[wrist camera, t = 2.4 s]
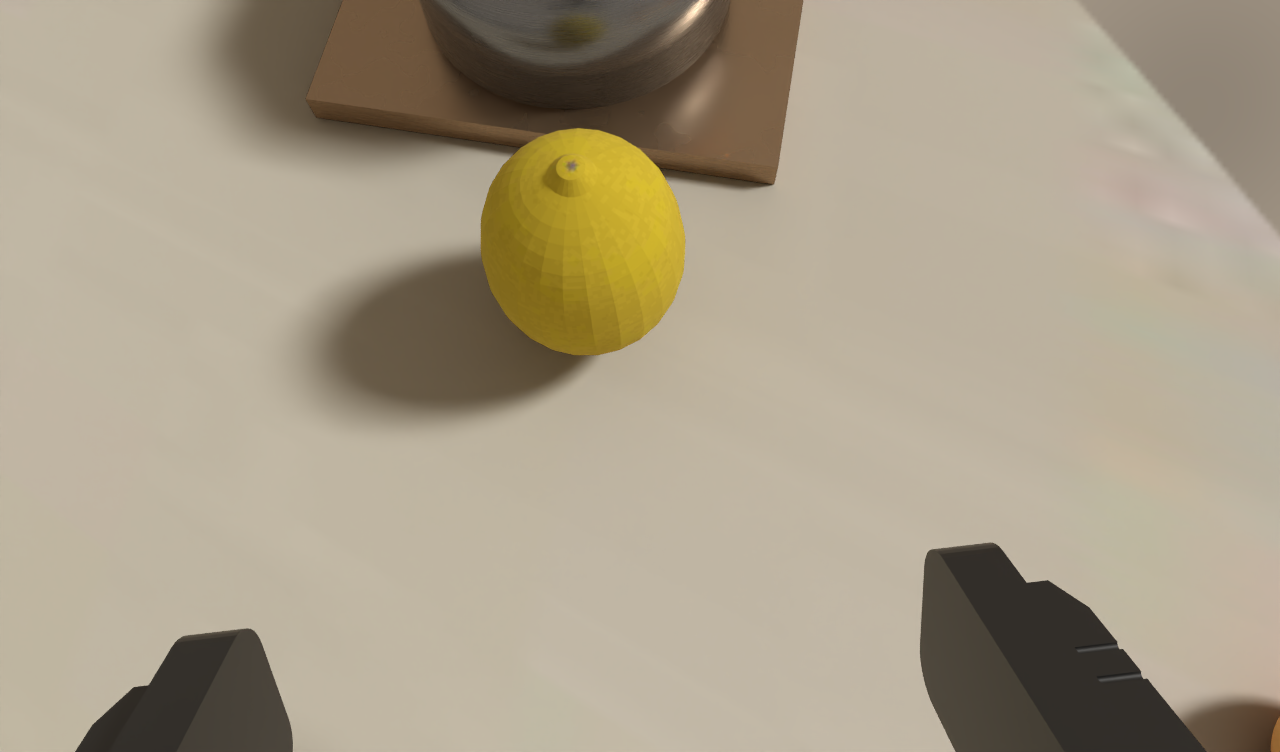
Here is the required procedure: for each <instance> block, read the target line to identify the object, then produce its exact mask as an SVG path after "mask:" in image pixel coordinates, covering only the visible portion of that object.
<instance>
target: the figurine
mask: <svg viewBox="0 0 1280 752" xmlns="http://www.w3.org/2000/svg"><path fill="white" fill-rule="evenodd" d="M1271 752H1280V717H1279V718H1278V720H1277V722H1276V725H1275V727H1274V730H1273V734H1272V740H1271Z"/></svg>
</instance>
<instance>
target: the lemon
mask: <svg viewBox="0 0 1280 752" xmlns="http://www.w3.org/2000/svg"><path fill="white" fill-rule="evenodd" d="M481 257H482V262H483V265H484V269H485V272H486V276H487V279H488V283H489V286H490V289H491V291H492V293H493V295H494V297H495V298H496V300H497V302H498V303H499V305H500V306H501V308H502V309H503V311H504V313H505V314H506V316H507V317H508V318H509V319H510V320H511V321H512V322H513V323H514V324H515V325H516V326H517V327H518V328H519V329H520V330H522V331H523V332H524V333H525V334H526V335H527V336H528V337H529V338H531V339H533V340H535V341H536V342H538V343H540V344H542V345H544V346H546V347H548V348H550V349H552V350H555V351H559V352H563V353H568V354H572V355H600V354H604V353H608V352H613V351H617V350H620V349H622V348H624V347H626V346H628V345H630V344H632V343H634V342H636V341H638V340H640V339H641V338H642V337H643V336H644V335H646V334H647V333H648V332H649V331H650V330H651V329H652V328H654V327H655V326H656V325H657V324H658V323H659V321H660V320H661V318H662V317H663V316H664V314H665V313H666V311H667V310H668V308H669V307H670V305H671V304H672V302H673V300H674V298H675V295H676V292H677V289H678V286H679V284H680V281H681V278H682V274H683V271H684V258H685V233H684V228H683V224H682V220H681V215H680V211H679V207H678V204H677V201H676V198H675V196H674V194H673V192H672V190H671V188H670V187H669V185H668V183H667V181H666V179H665V178H664V176H663V174H662V172H661V171H660V169H659V168H658V167H657V166H656V165H655V164H654V163H653V162H652V161H651V160H650V159H649V158H648V157H647V156H646V155H645V154H644V153H643V152H642V151H641V150H640V149H639V148H637V147H636V146H634V145H632V144H631V143H629V142H627V141H626V140H624V139H622V138H620V137H618V136H615V135H612V134H609V133H606V132H603V131H600V130H592V129H582V128H576V129H567V130H559V131H555V132H552V133H549V134H546V135H543V136H540V137H538V138H536V139H534V140H533V141H531V142H530V143H528V144H526V145H525V146H523V147H521V148H520V149H519V150H518V151H517V152H516V153H515V154H514V155H513V156H512V157H511V158H510V159H509V160H508V161H507V162H506V163H505V164H504V165H503V166H502V167H501V169H500V171H499V172H498V174H497V176H496V177H495V179H494V180H493V182H492V184H491V186H490V188H489V191H488V194H487V198H486V201H485V205H484V208H483V212H482V217H481Z"/></svg>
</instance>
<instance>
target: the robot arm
mask: <svg viewBox="0 0 1280 752" xmlns="http://www.w3.org/2000/svg"><path fill="white" fill-rule="evenodd" d="M920 658H921V666H922V672H923V677H924V681H925V685H926V688H927V691H928V694H929V697H930V700H931V702H932V704H933V706H934V709H935V711H936V713H937V715H938V717H939V719H940V721H941V723H942V725H943V727H944V729H945V731H946V733H947V735H948V737H949V739H950V741H951V743H952V745H953V747H954V749H955V751H956V752H1206V751H1205V749H1204V748H1203V747H1202V746H1201V744H1200V743H1199V742H1198V741H1197V739H1196V738H1195V737H1194V736H1193V735H1192V733H1191V732H1190V731H1189V730H1188V728H1187V727H1186V726H1185V725H1184V723H1183V722H1182V721H1181V720H1180V719H1179V717H1178V716H1177V715H1176V714H1175V712H1174V711H1173V710H1172V709H1171V707H1170V706H1169V705H1168V704H1167V703H1166V701H1165V700H1164V699H1163V698H1162V696H1161V695H1160V694H1159V693H1158V691H1157V690H1156V689H1155V688H1154V687H1153V685H1152V684H1151V683H1150V682H1149V680H1148V679H1143V678H1142V676H1141V671H1140V669H1139V668H1138V667H1137V666H1136V664H1135V663H1134V662H1133V661H1132V659H1131V658H1130V657H1129V656H1128V655H1127V653H1126V652H1125V651H1124V650H1123V649H1119V648H1118V645H1117V641H1116V640H1115V639H1114V637H1113V636H1112V635H1111V634H1110V632H1109V631H1108V630H1107V629H1106V628H1105V626H1104V625H1103V624H1102V623H1101V621H1100V620H1099V619H1098V618H1097V616H1096V615H1095V614H1094V613H1093V612H1092V610H1091V609H1090V608H1089V607H1088V606H1086V605H1085V604H1083V603H1082V602H1080V601H1078V600H1077V599H1075V598H1074V597H1072V596H1071V595H1069V594H1068V593H1066V592H1065V591H1063V590H1062V589H1060V588H1059V587H1057V586H1056V585H1054V584H1053V583H1051V582H1050V581H1048V580H1047V581H1039V582H1031V583H1026V581H1025V580H1024V579H1023V577H1022V576H1021V575H1020V573H1019V572H1018V571H1017V569H1016V568H1015V567H1014V565H1013V564H1012V563H1011V561H1010V560H1009V559H1008V557H1007V556H1006V554H1005V553H1004V552H1003V551H1002V549H1001V548H1000V547H999V546H998V545H996V544H994V543H983V544H975V545H966V546H958V547H949V548H941V549H932V550H930V551H929V552H928V553H927V555H926V559H925V566H924V583H923V601H922V620H921V638H920ZM75 752H293V741H292V731H291V726H290V722H289V719H288V716H287V713H286V710H285V707H284V705H283V702H282V699H281V696H280V693H279V691H278V688H277V685H276V682H275V679H274V677H273V674H272V671H271V668H270V665H269V663H268V660H267V657H266V654H265V651H264V649H263V646H262V643H261V641H260V638H259V637H258V635H257V634H256V633H255V632H254V631H253V630H251V629H239V630H230V631H222V632H213V633H205V634H196V635H188V636H183V637H181V638H180V639H178V640H177V641H176V642H175V644H174V645H173V646H172V648H171V649H170V651H169V653H168V654H167V656H166V658H165V659H164V661H163V663H162V664H161V666H160V668H159V669H158V671H157V673H156V674H155V676H154V678H153V679H152V681H151V683H150V684H149V685H148V686H140V687H134V688H132V689H131V690H130V691H129V692H128V693H127V694H126V695H125V696H124V697H123V698H122V699H120V700H119V701H118V702H117V703H116V704H115V705H114V706H113V707H112V708H111V709H109V710H108V711H107V712H106V713H105V714H104V715H103V716H102V717H101V718H100V719H98V720H97V721H96V722H95V723H94V724H93V725H92V727H91V728H90V730H89V731H88V733H87V734H86V736H85V737H84V739H83V741H82V742H81V744H80V745H79V747H78V748H77V750H76V751H75Z"/></svg>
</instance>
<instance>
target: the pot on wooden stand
mask: <svg viewBox="0 0 1280 752" xmlns="http://www.w3.org/2000/svg"><path fill="white" fill-rule="evenodd" d="M802 5H803V0H343V1H342V4H341V7H340V9H339V12H338V14H337V17H336V20H335V22H334V25H333V28H332V30H331V33H330V36H329V38H328V41H327V43H326V46H325V49H324V51H323V54H322V57H321V59H320V62H319V64H318V67H317V70H316V72H315V75H314V78H313V80H312V83H311V86H310V88H309V91H308V93H307V96H306V101H307V102H308V104H309V106H310V107H311V109H312V111H313V112H314V114H315V116H316V117H318V118H324V119H331V120H338V121H345V122H352V123H358V124H365V125H372V126H379V127H386V128H393V129H399V130H406V131H413V132H420V133H427V134H433V135H440V136H447V137H454V138H461V139H467V140H474V141H481V142H488V143H495V144H502V145H508V146H515V147H523V146H525V145H526V144H528V143H530V142H531V141H533V140H534V139H536V138H538V137H540V136H543V135H546V134H549V133H552V132H555V131H559V130H567V129H576V128H582V129H592V130H600V131H603V132H606V133H609V134H612V135H615V136H618V137H620V138H622V139H624V140H626V141H627V142H629V143H631V144H632V145H634V146H636V147H637V148H639V149H640V150H641V151H642V152H643V153H644V154H645V155H646V156H647V157H648V158H649V159H650V160H651V161H652V162H653V163H654V164H655V165H656V166H657V167H658V168H665V169H672V170H679V171H686V172H692V173H699V174H706V175H713V176H720V177H726V178H733V179H740V180H747V181H754V182H761V183H767V184H774V182H775V178H776V173H777V169H778V163H779V156H780V150H781V143H782V137H783V130H784V124H785V117H786V110H787V104H788V97H789V91H790V84H791V78H792V71H793V64H794V58H795V51H796V45H797V38H798V32H799V25H800V18H801V12H802Z"/></svg>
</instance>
